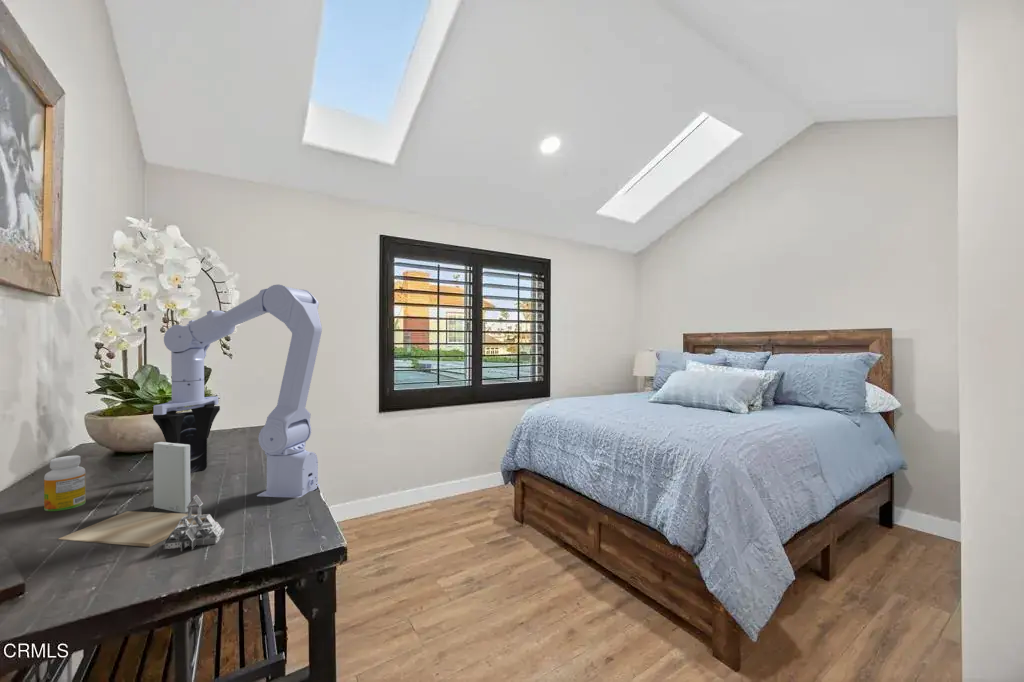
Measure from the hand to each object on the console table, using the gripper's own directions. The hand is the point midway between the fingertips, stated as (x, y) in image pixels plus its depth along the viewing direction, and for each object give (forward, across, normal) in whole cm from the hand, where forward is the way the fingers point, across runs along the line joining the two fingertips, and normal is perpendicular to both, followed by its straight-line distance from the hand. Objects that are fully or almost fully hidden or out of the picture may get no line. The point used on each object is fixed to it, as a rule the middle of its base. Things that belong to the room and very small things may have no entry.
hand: (188, 442), depth 93 cm
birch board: (+10, +20, +10) cm, 25 cm away
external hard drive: (+10, +12, +8) cm, 17 cm away
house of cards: (+10, +26, +23) cm, 36 cm away
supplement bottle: (+10, +14, -12) cm, 21 cm away
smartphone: (+10, -8, -7) cm, 15 cm away
